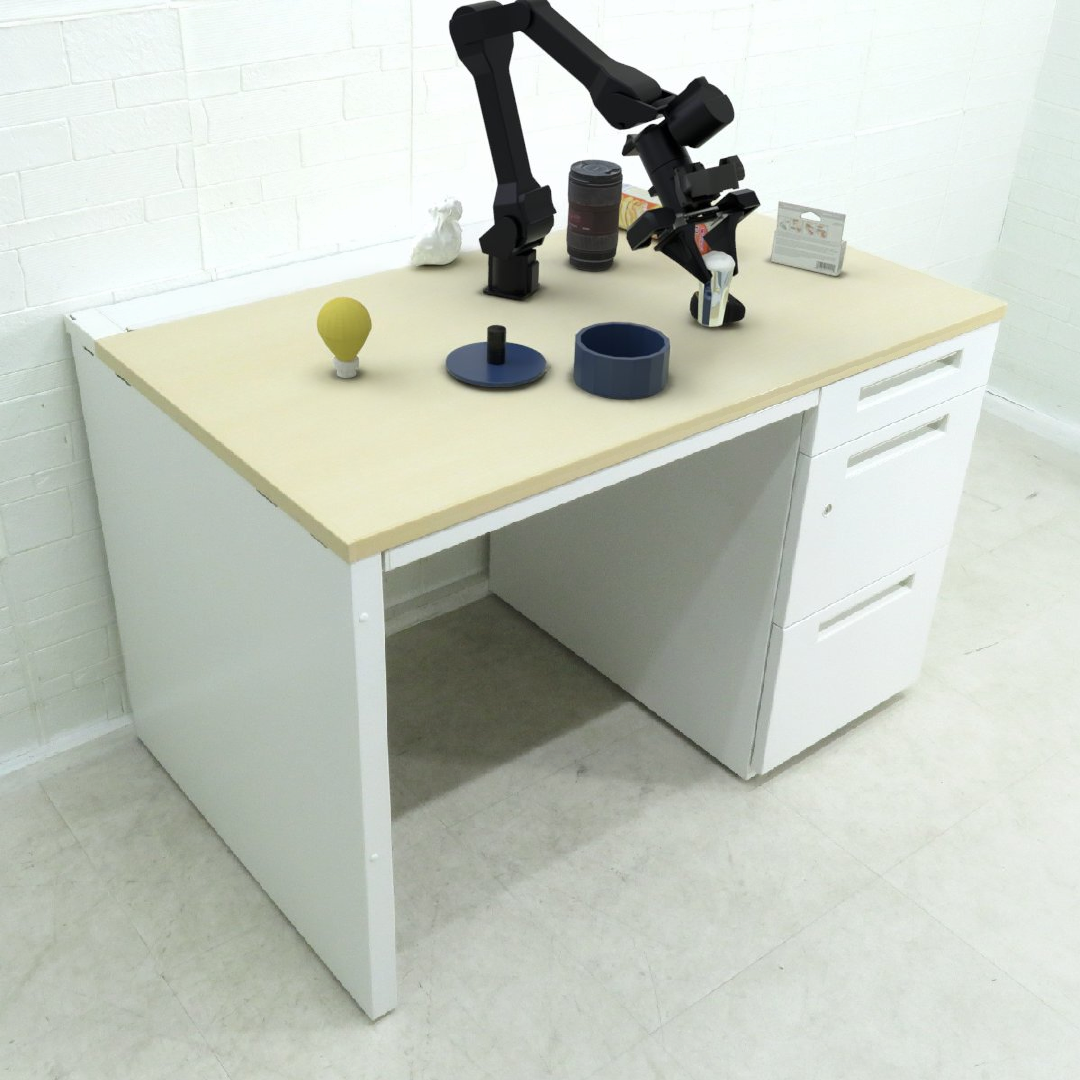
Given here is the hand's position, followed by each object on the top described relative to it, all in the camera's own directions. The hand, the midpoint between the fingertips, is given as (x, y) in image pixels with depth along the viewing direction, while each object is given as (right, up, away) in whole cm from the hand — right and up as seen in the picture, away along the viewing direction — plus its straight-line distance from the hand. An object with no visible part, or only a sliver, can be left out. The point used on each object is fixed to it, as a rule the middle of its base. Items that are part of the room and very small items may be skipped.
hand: (721, 279), depth 163 cm
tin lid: (-28, -11, +2) cm, 30 cm away
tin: (-13, -12, +1) cm, 18 cm away
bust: (-38, +10, +35) cm, 53 cm away
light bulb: (-47, -12, 0) cm, 49 cm away
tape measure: (+2, -2, +19) cm, 19 cm away
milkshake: (-1, -5, +4) cm, 7 cm away
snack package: (-3, +16, +48) cm, 50 cm away
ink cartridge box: (+18, +9, +38) cm, 43 cm away
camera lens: (-15, +9, +36) cm, 40 cm away
